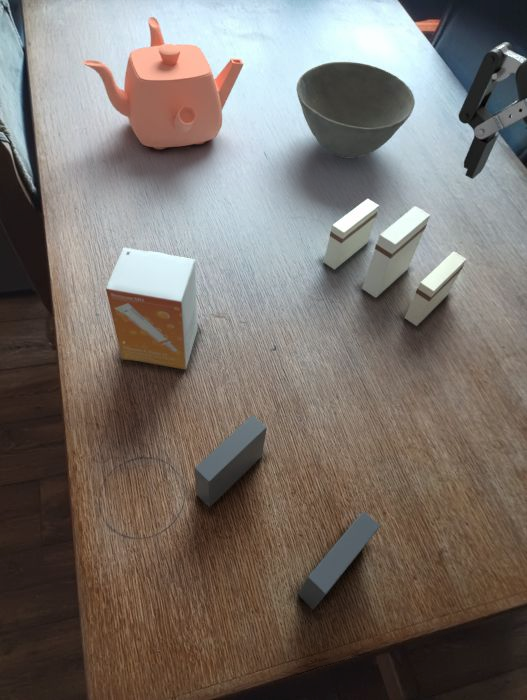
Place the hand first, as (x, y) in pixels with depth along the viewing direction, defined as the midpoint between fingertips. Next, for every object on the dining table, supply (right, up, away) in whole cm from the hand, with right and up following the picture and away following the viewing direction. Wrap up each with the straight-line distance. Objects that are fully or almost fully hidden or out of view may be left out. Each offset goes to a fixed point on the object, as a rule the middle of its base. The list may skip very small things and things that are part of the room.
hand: (515, 195), depth 48 cm
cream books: (-5, -4, +29) cm, 29 cm away
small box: (-35, -13, +19) cm, 42 cm away
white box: (-5, -4, +29) cm, 29 cm away
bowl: (-8, +21, +46) cm, 51 cm away
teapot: (-38, +24, +45) cm, 64 cm away
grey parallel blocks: (-21, -31, +8) cm, 38 cm away
